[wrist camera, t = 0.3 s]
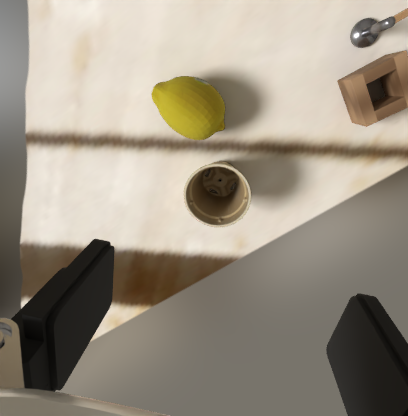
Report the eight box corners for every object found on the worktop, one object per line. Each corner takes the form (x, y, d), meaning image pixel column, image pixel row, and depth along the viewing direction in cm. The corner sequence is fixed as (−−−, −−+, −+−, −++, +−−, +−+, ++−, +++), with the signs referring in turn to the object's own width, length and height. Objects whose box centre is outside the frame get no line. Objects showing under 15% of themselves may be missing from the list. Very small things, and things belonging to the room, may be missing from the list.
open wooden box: (337, 80, 39) (350, 79, 34) (385, 55, 37) (406, 50, 32) (352, 122, 41) (366, 126, 36) (398, 100, 39) (419, 101, 34)
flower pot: (193, 148, 45) (184, 161, 37) (251, 152, 44) (255, 166, 36) (191, 202, 48) (182, 224, 41) (245, 206, 48) (247, 230, 40)
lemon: (239, 107, 41) (240, 110, 34) (208, 147, 44) (202, 159, 37) (181, 58, 40) (168, 52, 32) (152, 104, 43) (135, 108, 35)
